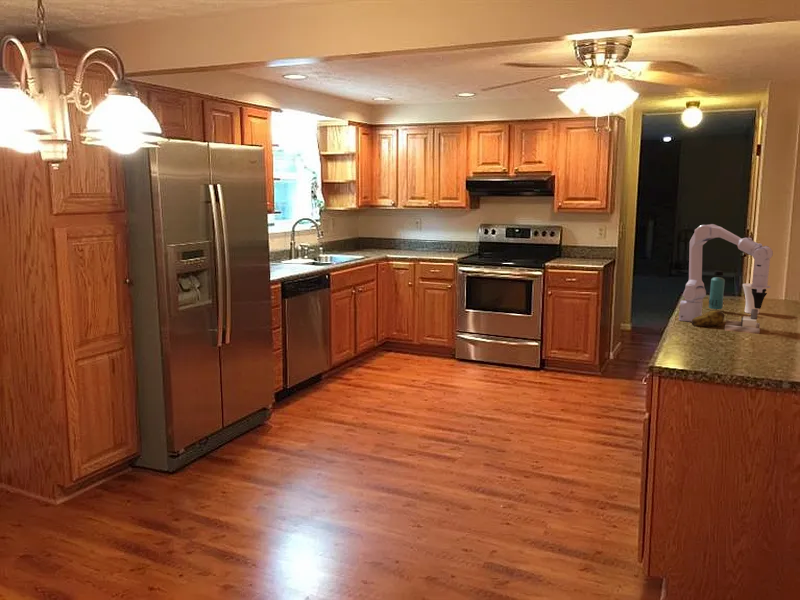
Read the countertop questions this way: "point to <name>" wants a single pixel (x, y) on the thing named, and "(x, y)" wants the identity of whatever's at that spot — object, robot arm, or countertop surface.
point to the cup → (749, 298)
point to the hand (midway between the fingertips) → (757, 306)
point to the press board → (737, 327)
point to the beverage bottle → (716, 291)
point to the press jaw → (750, 319)
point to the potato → (709, 319)
